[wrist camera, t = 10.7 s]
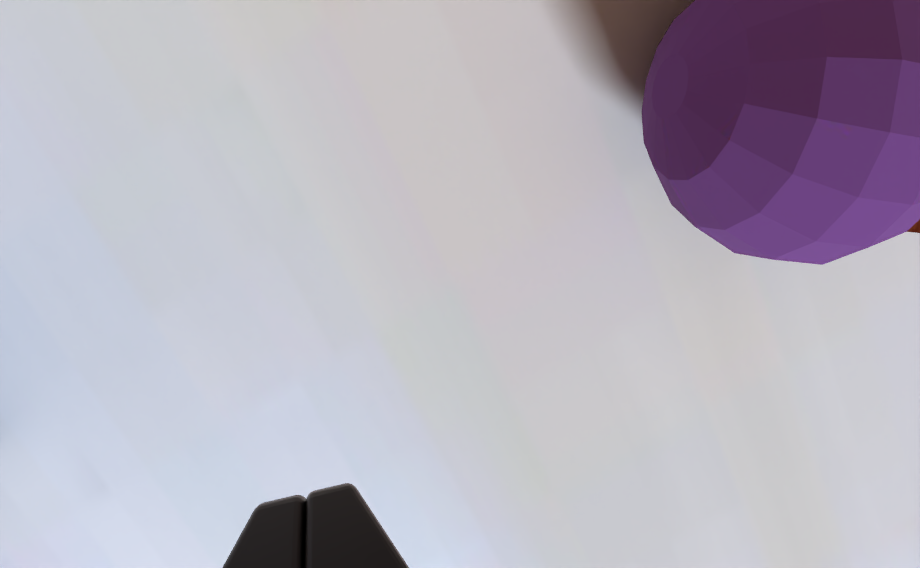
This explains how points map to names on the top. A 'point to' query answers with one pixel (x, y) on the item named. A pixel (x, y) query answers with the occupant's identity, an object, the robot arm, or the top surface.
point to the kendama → (789, 123)
